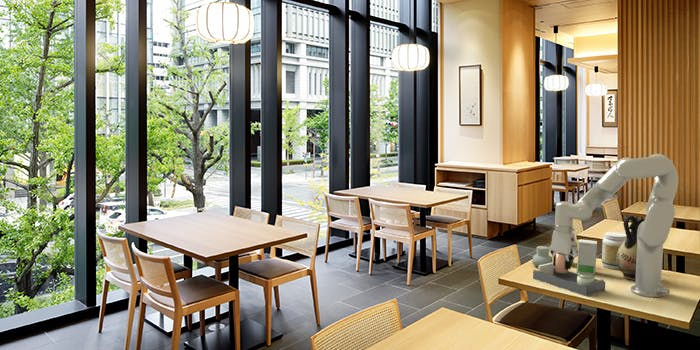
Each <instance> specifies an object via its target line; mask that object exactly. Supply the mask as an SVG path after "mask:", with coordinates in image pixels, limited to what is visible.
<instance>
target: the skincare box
mask: <svg viewBox="0 0 700 350" xmlns="http://www.w3.org/2000/svg"><path fill="white" fill-rule="evenodd" d="M597 252H598V241H597V240H590V239H579V240H578V245H577V254H578V256H577V261H576V262H577V263H576V264H577V265H576V273H577V274H580V273H588V274H591V275H593V276H594V275H596V269H597V268H596V265H597V264H596V263H597Z"/></svg>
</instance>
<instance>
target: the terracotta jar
mask: <svg viewBox="0 0 700 350" xmlns="http://www.w3.org/2000/svg"><path fill="white" fill-rule="evenodd" d="M568 256H569V255H568ZM565 261H567V260H566V256H565V254H563V253H559V252H556V263H555V266H554V267H555V271H556V272H559V273H568V271H569V269H567V270H566V269H565Z"/></svg>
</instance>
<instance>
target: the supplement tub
mask: <svg viewBox="0 0 700 350" xmlns="http://www.w3.org/2000/svg"><path fill="white" fill-rule="evenodd" d="M626 237H627V236H626V232H625V233H624V232H617V231H607V232H605V233H604V238H603V239H602V240H601V241H602V244H601V245H602V247H601V248H602V249H601V264H602V266H603V267H605V268H607V269H609V270H619V268H618V267H617V264H616V256H617V252H618V249H619V248H620V246H621V245H622V244H623V242H624V241H625V240H626ZM619 271H620V270H619Z"/></svg>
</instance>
